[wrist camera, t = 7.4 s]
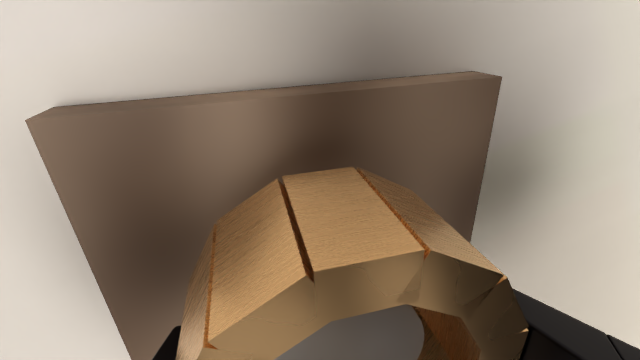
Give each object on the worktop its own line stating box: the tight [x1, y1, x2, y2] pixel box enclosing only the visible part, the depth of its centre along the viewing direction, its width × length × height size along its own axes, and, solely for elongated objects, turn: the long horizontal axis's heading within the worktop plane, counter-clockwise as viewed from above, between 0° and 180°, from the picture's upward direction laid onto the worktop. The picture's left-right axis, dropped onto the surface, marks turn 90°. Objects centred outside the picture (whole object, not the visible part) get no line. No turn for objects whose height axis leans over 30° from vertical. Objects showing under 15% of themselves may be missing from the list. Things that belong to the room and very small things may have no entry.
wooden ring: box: [176, 167, 529, 360], centre depth 8 cm, size 7×7×4 cm
